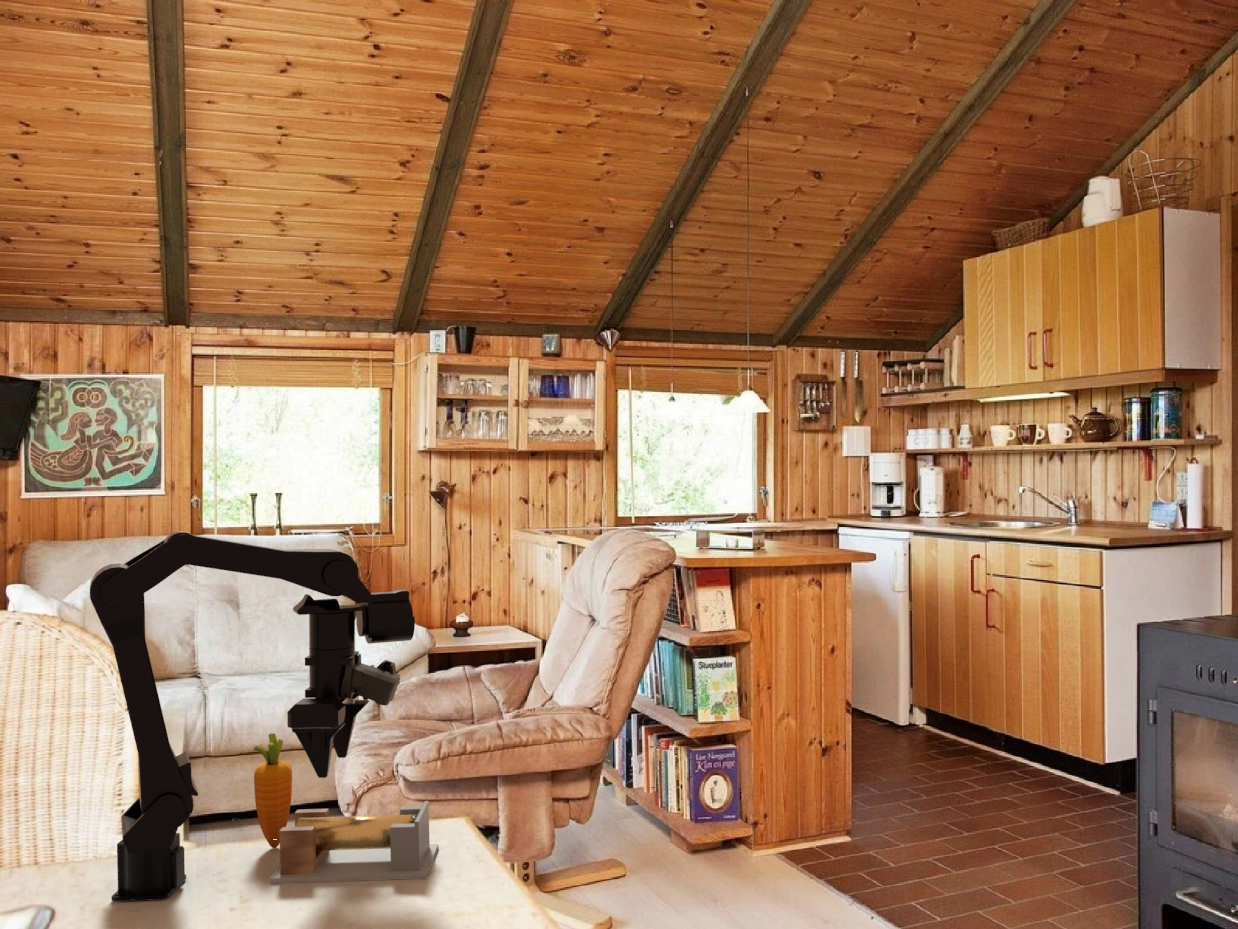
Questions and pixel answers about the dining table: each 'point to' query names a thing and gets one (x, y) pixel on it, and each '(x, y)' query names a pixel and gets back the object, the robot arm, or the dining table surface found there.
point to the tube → (354, 831)
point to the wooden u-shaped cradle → (300, 845)
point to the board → (358, 867)
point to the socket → (410, 839)
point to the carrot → (272, 791)
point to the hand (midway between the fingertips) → (332, 767)
